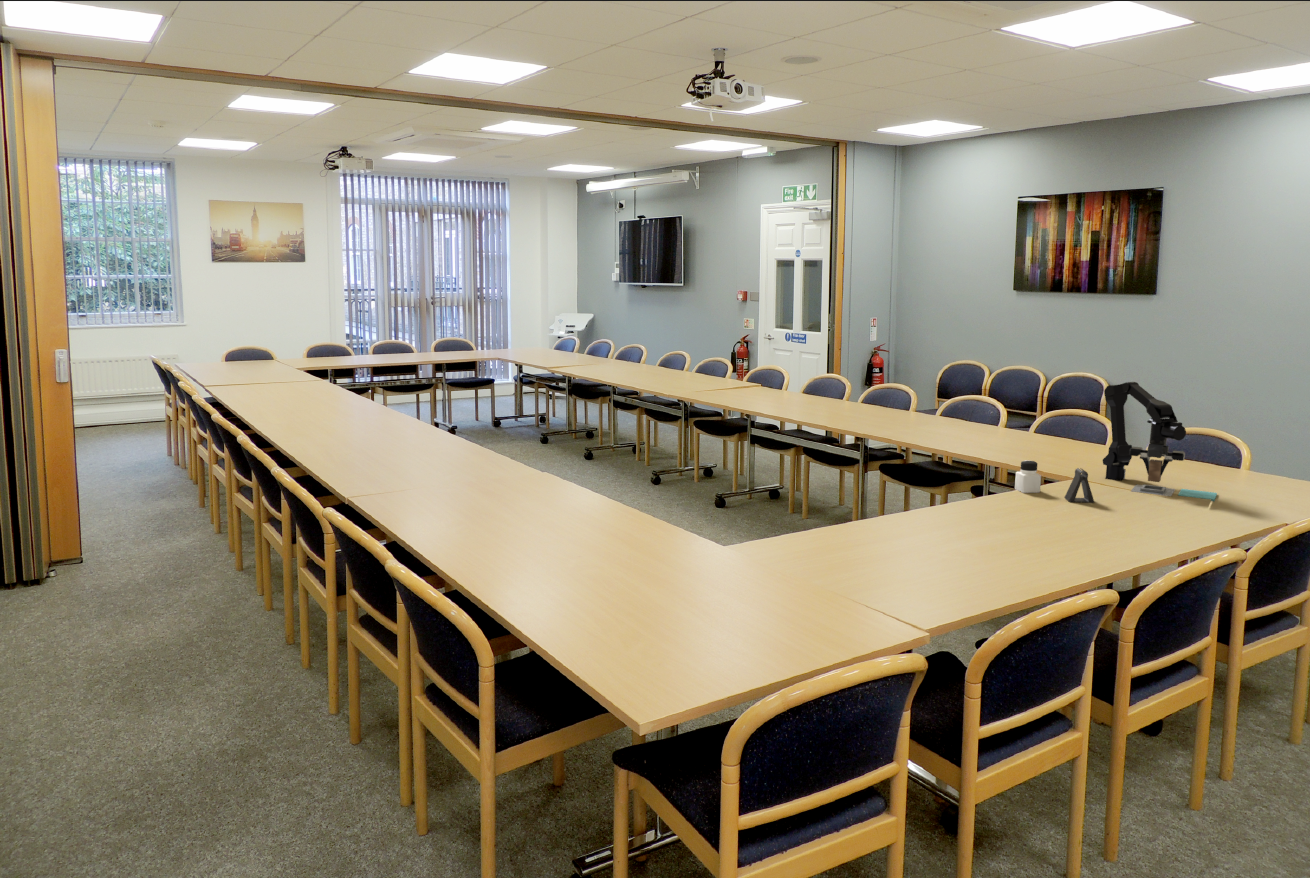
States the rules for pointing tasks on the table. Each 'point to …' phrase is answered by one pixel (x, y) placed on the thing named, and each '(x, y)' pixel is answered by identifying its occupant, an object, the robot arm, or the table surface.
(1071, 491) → the phone stand
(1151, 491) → the holder
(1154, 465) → the walnut block
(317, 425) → the table surface
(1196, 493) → the mat
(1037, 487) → the medicine bottle
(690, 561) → the table surface
